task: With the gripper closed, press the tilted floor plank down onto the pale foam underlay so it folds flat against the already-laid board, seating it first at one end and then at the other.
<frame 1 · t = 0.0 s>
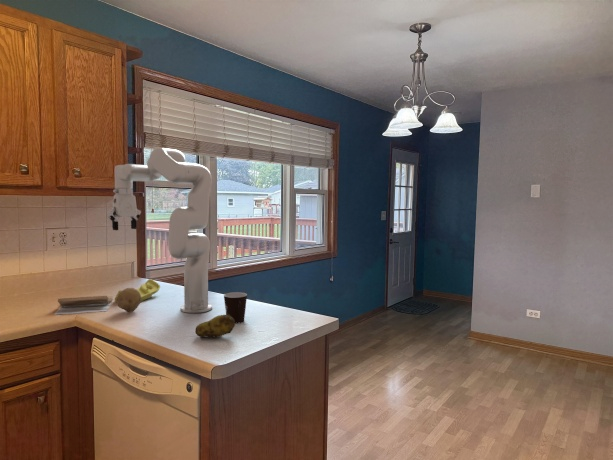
hand: (124, 229, 199), 31 cm above the counter, tool pointing down, fingers open, 9 cm apart
natural sponge: (129, 313, 172), on the counter
plank: (84, 301, 179), point 3 cm above the counter, hinge at 28.0°
potato: (215, 338, 142), on the counter
plastic component: (139, 299, 196), on the counter
laid floor: (85, 305, 183), on the counter
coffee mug: (234, 322, 160), on the counter
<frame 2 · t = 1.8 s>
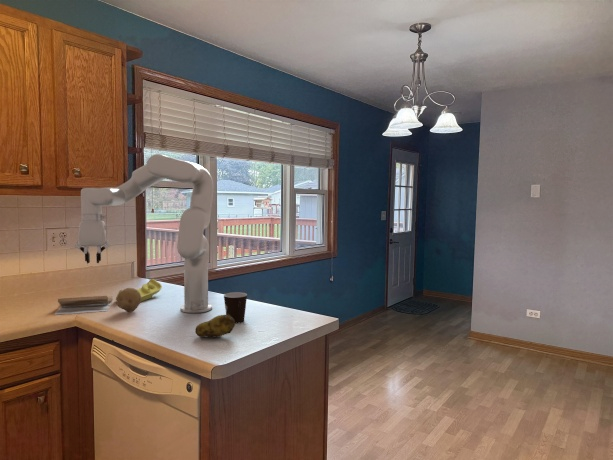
hand: (93, 262, 177), 19 cm above the counter, tool pointing down, fingers open, 3 cm apart
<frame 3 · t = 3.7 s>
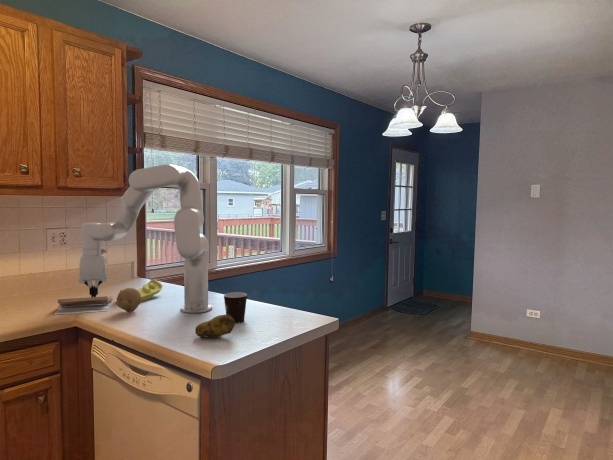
hand: (93, 296, 178), 5 cm above the counter, tool pointing down, fingers closed
plank: (84, 301, 179), point 3 cm above the counter, hinge at 25.9°, touching gripper
everything else where it was.
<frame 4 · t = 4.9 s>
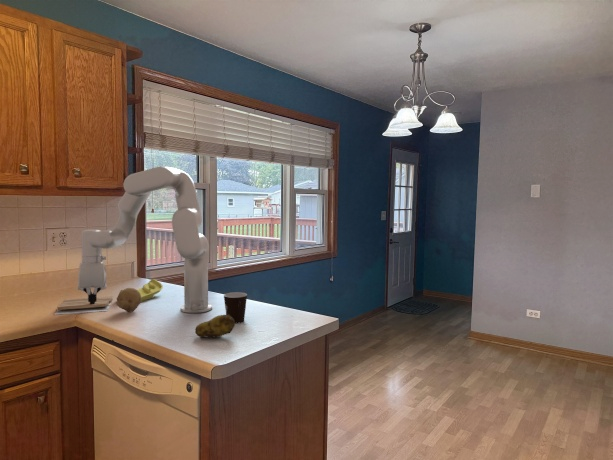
hand: (92, 303, 178), 2 cm above the counter, tool pointing down, fingers closed
plank: (84, 305, 178), point 1 cm above the counter, hinge at 5.4°, touching gripper
everything else where it was.
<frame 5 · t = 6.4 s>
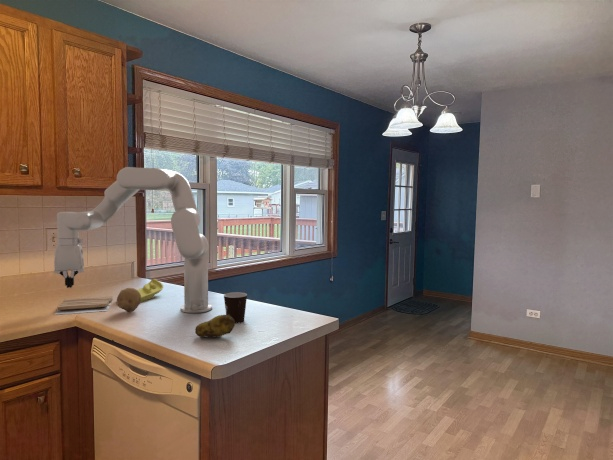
hand: (69, 287, 175), 9 cm above the counter, tool pointing down, fingers closed
plank: (84, 305, 178), point 1 cm above the counter, hinge at 5.2°
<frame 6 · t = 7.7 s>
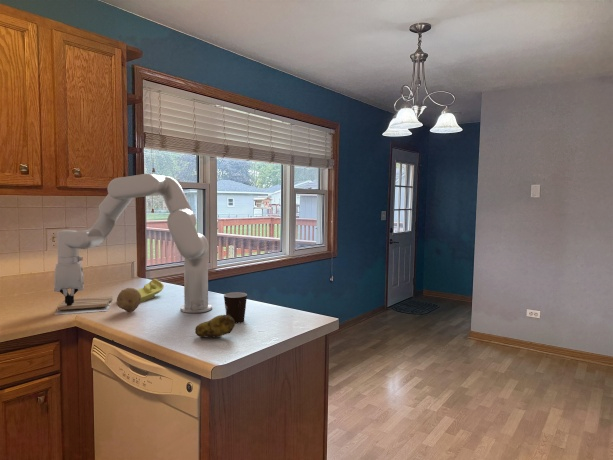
hand: (69, 304, 176), 2 cm above the counter, tool pointing down, fingers closed
plank: (84, 305, 178), point 1 cm above the counter, hinge at 5.2°, touching gripper
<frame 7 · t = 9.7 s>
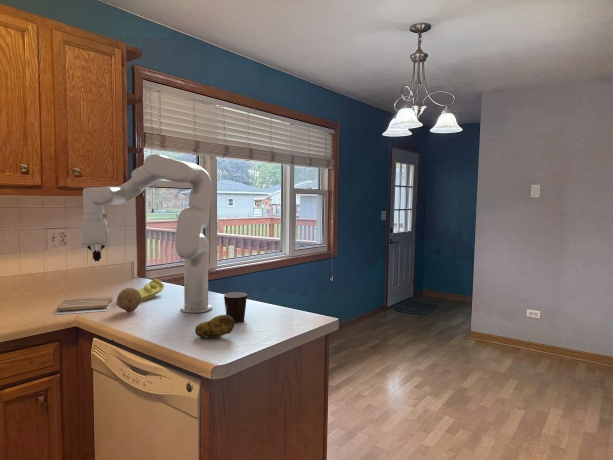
hand: (97, 260, 181), 19 cm above the counter, tool pointing down, fingers closed
plank: (84, 305, 178), point 1 cm above the counter, hinge at 2.8°
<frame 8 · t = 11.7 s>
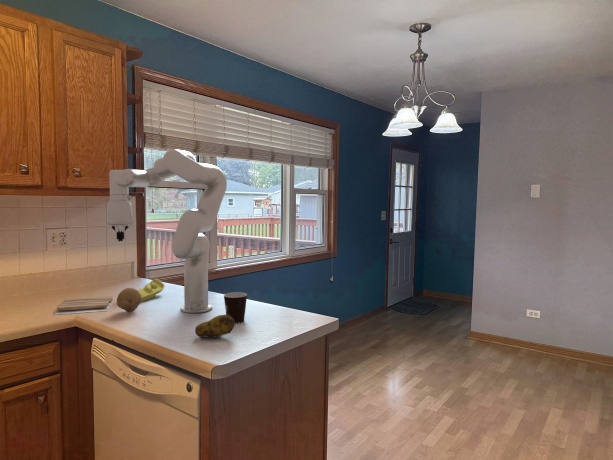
hand: (120, 240, 187), 27 cm above the counter, tool pointing down, fingers closed
at the end: plank at +3° (first picture: +28°); the gripper is holding nothing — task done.
